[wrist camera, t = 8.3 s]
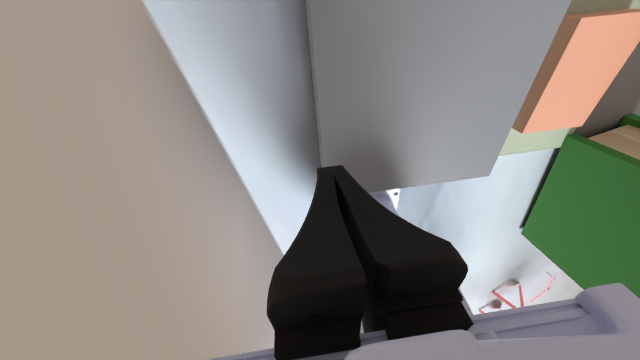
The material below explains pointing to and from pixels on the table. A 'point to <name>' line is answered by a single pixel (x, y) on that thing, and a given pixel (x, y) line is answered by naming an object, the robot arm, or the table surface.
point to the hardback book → (593, 208)
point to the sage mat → (520, 143)
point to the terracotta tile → (578, 69)
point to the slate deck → (423, 83)
